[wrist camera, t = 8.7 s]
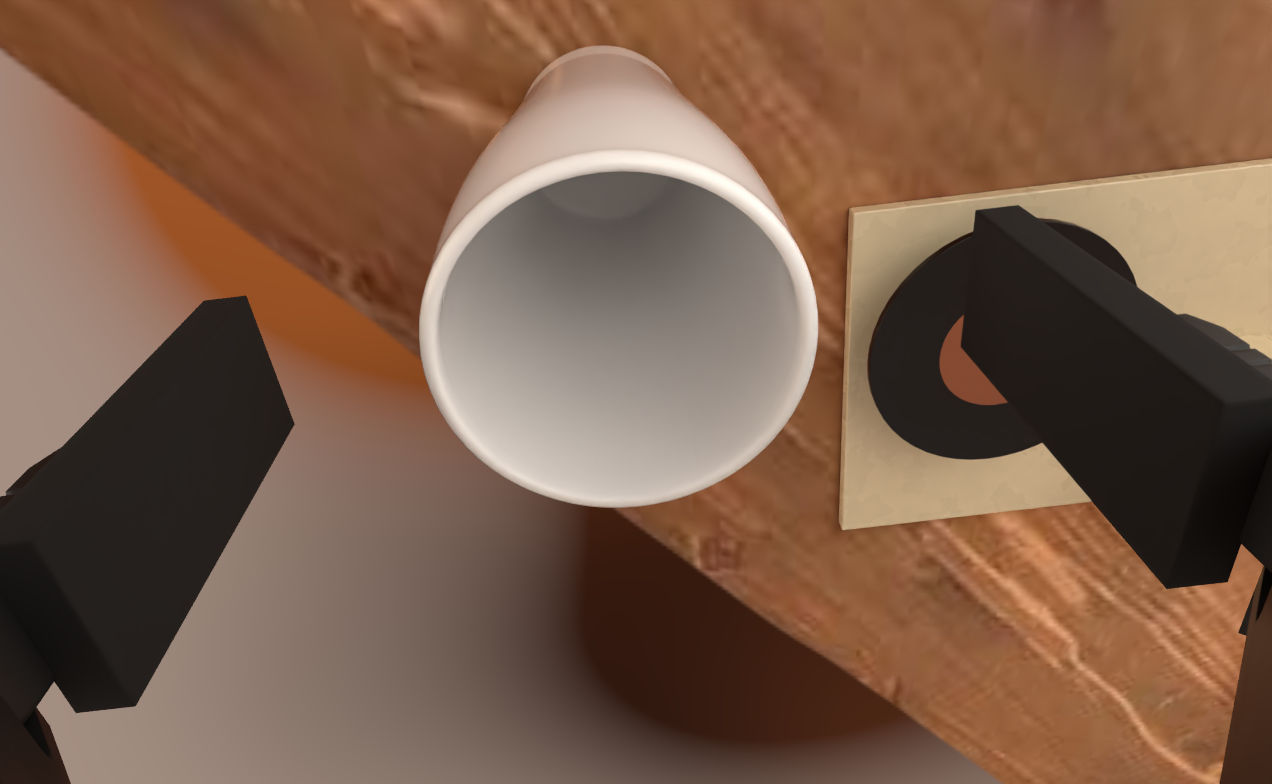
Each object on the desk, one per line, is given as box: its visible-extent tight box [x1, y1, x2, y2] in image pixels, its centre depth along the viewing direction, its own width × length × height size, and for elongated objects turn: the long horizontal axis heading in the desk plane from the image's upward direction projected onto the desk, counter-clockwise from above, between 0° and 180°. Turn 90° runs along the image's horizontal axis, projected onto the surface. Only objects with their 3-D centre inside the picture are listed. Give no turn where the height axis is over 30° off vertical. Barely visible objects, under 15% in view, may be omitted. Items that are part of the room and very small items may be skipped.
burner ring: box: [867, 218, 1137, 460], centre depth 28 cm, size 9×9×1 cm
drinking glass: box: [419, 45, 818, 508], centre depth 20 cm, size 7×7×15 cm
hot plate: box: [839, 158, 1272, 530], centre depth 31 cm, size 14×18×3 cm
